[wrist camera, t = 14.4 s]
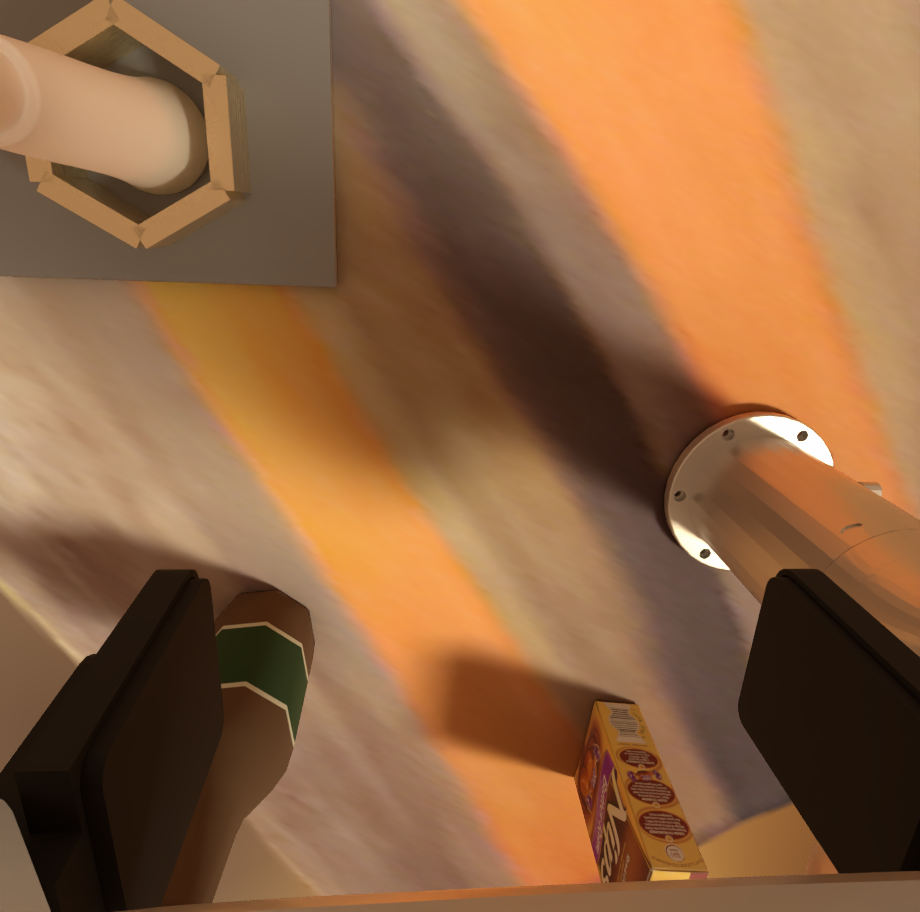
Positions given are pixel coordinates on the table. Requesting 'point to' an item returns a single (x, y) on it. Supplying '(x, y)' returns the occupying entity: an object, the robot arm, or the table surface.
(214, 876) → the beer bottle
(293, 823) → the table surface
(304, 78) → the slate board
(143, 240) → the wooden hex collar
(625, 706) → the candy box
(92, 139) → the cosmetic bottle
